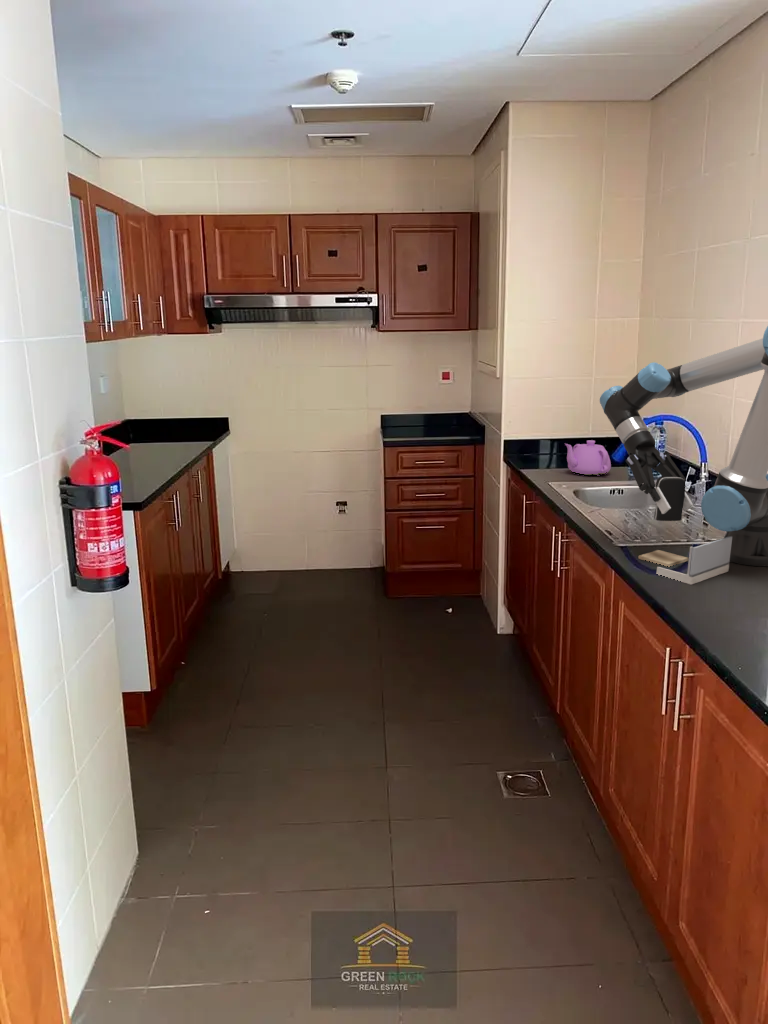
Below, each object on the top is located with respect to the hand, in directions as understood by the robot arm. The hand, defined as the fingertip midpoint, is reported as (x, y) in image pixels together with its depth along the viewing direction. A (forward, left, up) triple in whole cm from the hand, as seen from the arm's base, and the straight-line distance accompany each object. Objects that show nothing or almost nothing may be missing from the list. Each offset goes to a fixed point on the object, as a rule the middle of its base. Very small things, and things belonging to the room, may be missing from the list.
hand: (677, 509), depth 197 cm
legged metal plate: (+3, +8, -14) cm, 17 cm away
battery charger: (-1, -3, -4) cm, 5 cm away
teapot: (-80, -91, -15) cm, 122 cm away
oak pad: (-1, -3, -14) cm, 15 cm away
